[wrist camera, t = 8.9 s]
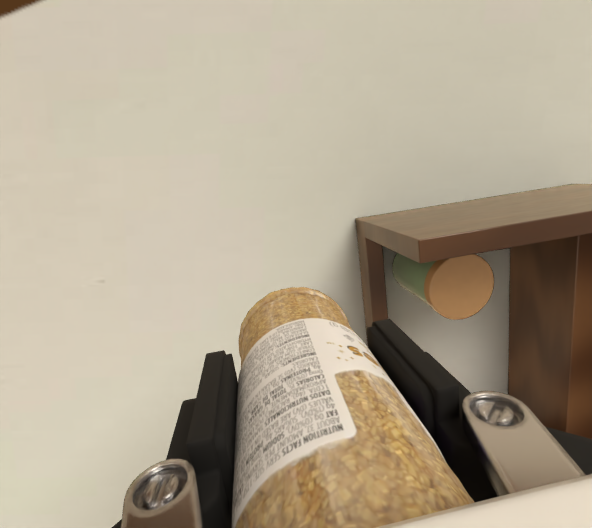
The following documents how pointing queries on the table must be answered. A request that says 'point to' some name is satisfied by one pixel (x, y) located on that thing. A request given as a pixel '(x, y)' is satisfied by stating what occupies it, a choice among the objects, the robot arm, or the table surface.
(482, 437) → the robot arm
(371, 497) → the sprinkles bottle
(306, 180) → the table surface
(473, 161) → the table surface
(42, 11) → the table surface
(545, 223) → the spice rack
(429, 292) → the sage jar
